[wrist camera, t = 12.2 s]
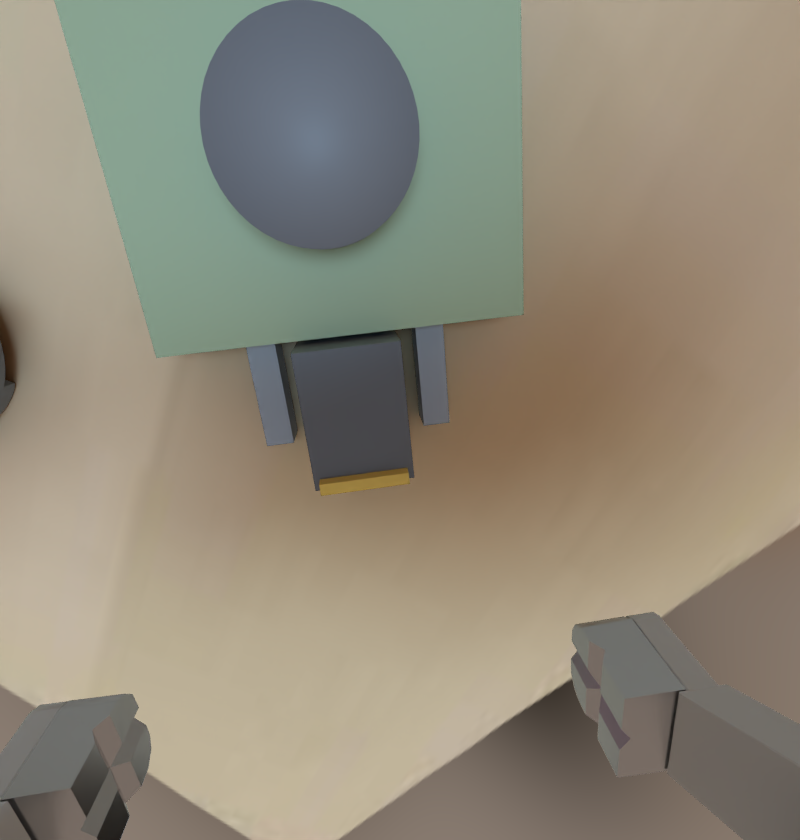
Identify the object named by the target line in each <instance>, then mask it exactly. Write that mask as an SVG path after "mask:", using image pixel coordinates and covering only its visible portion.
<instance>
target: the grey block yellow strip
mask: <svg viewBox="0 0 800 840" xmlns="http://www.w3.org/2000/svg"><path fill="white" fill-rule="evenodd" d="M291 359H292V364H293V370H294V375H295V381H296V386H297V392H298V397H299V402H300V408H301V413H302V419H303V424H304V429H305V435H306V440H307V446H308V451H309V457H310V462H311V467H312V473H313V478H314V484H315V489H316V491H319V490H320V493H321V496H324V495H331V494H339V493H346V492H353V491H360V490H368V489H375V488H382V487H390V486H397V485H404V484H410V481H409V478H414V470H413V460H412V450H411V440H410V430H409V420H408V410H407V400H406V391H405V381H404V371H403V361H402V351H401V341H400V339H399V337H398V336H397V334H396V332H395V330H389V331H381V332H372V333H364V334H355V335H347V336H338V337H330V338H321V339H313V340H304V341H298V342H297V344H296V346H295V347H294V349H293V351H292V352H291Z"/></svg>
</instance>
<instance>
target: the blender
mask: <svg viewBox="0 0 800 840" xmlns="http://www.w3.org/2000/svg"><path fill="white" fill-rule="evenodd" d="M14 389H15V383H13V382H10V381H7V380H5V361H4V354H3V349H2V345H1V342H0V414H1V413H2V412H3V411H4V410H5V408H6V407H7V405H8V404H9V402H10V400H11V398H12V395H13V393H14Z"/></svg>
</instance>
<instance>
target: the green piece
mask: <svg viewBox="0 0 800 840" xmlns="http://www.w3.org/2000/svg"><path fill="white" fill-rule="evenodd" d="M54 1H55V4H56V8H57V11H58V15H59V18H60V22H61V25H62V29H63V32H64V36H65V39H66V43H67V46H68V50H69V53H70V57H71V60H72V64H73V67H74V71H75V74H76V78H77V81H78V85H79V88H80V92H81V95H82V99H83V102H84V106H85V109H86V113H87V116H88V120H89V123H90V127H91V130H92V134H93V137H94V141H95V144H96V148H97V151H98V155H99V158H100V162H101V165H102V169H103V172H104V176H105V179H106V183H107V186H108V190H109V193H110V197H111V200H112V204H113V207H114V211H115V214H116V218H117V221H118V225H119V228H120V232H121V235H122V239H123V242H124V246H125V249H126V253H127V256H128V260H129V263H130V267H131V270H132V274H133V277H134V281H135V284H136V288H137V291H138V295H139V298H140V302H141V305H142V309H143V312H144V316H145V319H146V323H147V326H148V330H149V333H150V337H151V340H152V344H153V347H154V351H155V354H156V358H159V357H168V356H176V355H185V354H193V353H202V352H211V351H219V350H228V349H236V348H245V347H246V350H247V354H248V359H249V364H250V368H251V373H252V378H253V382H254V387H255V391H256V396H257V401H258V405H259V410H260V414H261V419H262V424H263V428H264V433H265V438H266V442H267V446H271V445H279V444H287V443H294V441H295V437H296V434H297V431H298V429H297V424H296V419H295V413H294V408H293V403H292V398H291V392H290V387H289V382H288V377H287V371H286V366H285V361H284V355H283V350H282V345H281V343H287V342H296V341H304V340H313V339H321V338H330V337H338V336H347V335H355V334H364V333H372V332H381V331H389V330H398V329H407V328H411V329H412V340H413V351H414V362H415V373H416V384H417V395H418V406H419V415H420V417H421V420H422V422H423V425H424V426H426V425H433V424H441V423H449V407H448V393H447V378H446V363H445V348H444V334H443V324H449V323H458V322H466V321H475V320H483V319H492V318H500V317H509V316H517V315H524V307H523V191H522V75H521V0H54Z"/></svg>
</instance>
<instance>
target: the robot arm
mask: <svg viewBox="0 0 800 840" xmlns="http://www.w3.org/2000/svg"><path fill="white" fill-rule="evenodd" d="M572 642H573V644H574V646H575V647H576V649H577V652H576V653H575V654H574V656H573V657H572V658H571V674H572V679H573V684H574V689H575V691H576V694H577V697H578V700H579V702H580V704H581V706H582V708H583V710H584V712H585V714H586V715H587V716H589V717H590V718H591V719H593V720H594V721H595V722H597V723H598V740H599V742H600V744H601V746H602V748H603V750H604V752H605V754H606V756H607V758H608V760H609V762H610V764H611V766H612V768H613V770H614V772H615V774H616V776H617V777H625V776H632V775H640V774H647V773H654V772H662V771H667V774H668V775H669V776H670V777H671V778H673V779H674V780H675V781H676V782H677V783H678V784H679V785H681V786H682V787H683V788H684V789H685V790H686V791H687V792H689V793H690V794H691V795H692V796H694V798H696V799H697V800H698V801H699V802H700V803H701V804H703V805H704V806H705V807H706V808H707V809H708V810H710V811H711V812H712V813H713V814H714V815H715V816H717V817H718V818H719V819H720V820H721V821H722V822H724V823H725V824H726V825H727V826H728V827H729V828H730V829H732V830H733V831H734V832H735V833H736V834H737V835H739V836H740V837H741V838H742V839H743V840H800V724H799V723H797V722H795V721H793V720H791V719H789V718H788V717H785V716H784V715H782V714H780V713H778V712H777V711H774V710H773V709H771V708H769V707H767V706H765V705H764V704H762V703H760V702H758V701H756V700H755V699H753V698H751V697H749V696H747V695H745V694H744V693H742V692H740V691H738V690H736V689H734V688H732V687H731V686H729V685H718V684H717V683H716V682H715V681H714V680H713V678H712V677H711V676H710V675H709V674H708V672H707V671H706V670H705V669H704V668H703V667H702V666H701V664H700V663H699V662H698V661H697V660H696V658H695V657H694V656H693V655H692V654H691V653H690V651H689V650H688V649H687V648H686V647H685V645H684V644H683V643H682V642H681V641H680V640H679V639H678V637H677V636H676V635H675V634H674V632H673V631H672V630H671V629H670V628H669V627H668V625H667V624H666V623H665V622H664V621H663V620H662V618H661V617H660V616H659V615H657V614H656V613H654V612H650V613H643V614H637V615H631V616H626V617H617V618H611V619H605V620H599V621H593V622H587V623H581V624H575V625H574V627H573V630H572ZM138 708H139V707H138V705H137V703H136V700H135V698H134V696H133V694H118V695H110V696H103V697H95V698H87V699H79V700H71V701H66V702H59V703H51V704H43V705H39V706H38V707H37V708H35V709H34V710H33V711H31V712H30V713H29V714H28V716H27V717H26V718H25V720H24V721H23V723H22V724H21V726H20V727H19V728H18V730H17V731H16V733H15V734H14V735H13V737H12V738H11V740H10V741H9V742H8V744H7V745H6V747H5V748H4V749H3V751H2V752H1V754H0V840H120V839H121V836H122V834H123V831H124V829H125V826H126V823H127V821H128V819H129V812H128V808H127V804H126V802H127V801H128V800H129V799H130V798H131V797H132V796H133V795H134V794H135V793H136V792H137V790H138V789H139V788H140V787H141V786H142V783H143V781H144V778H145V775H146V773H147V770H148V766H149V760H150V754H151V741H150V734H149V731H148V729H147V726H146V725H145V724H144V723H142V722H140V721H139V720H137V719H135V718H134V716H135V714H136V712H137V710H138Z"/></svg>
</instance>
